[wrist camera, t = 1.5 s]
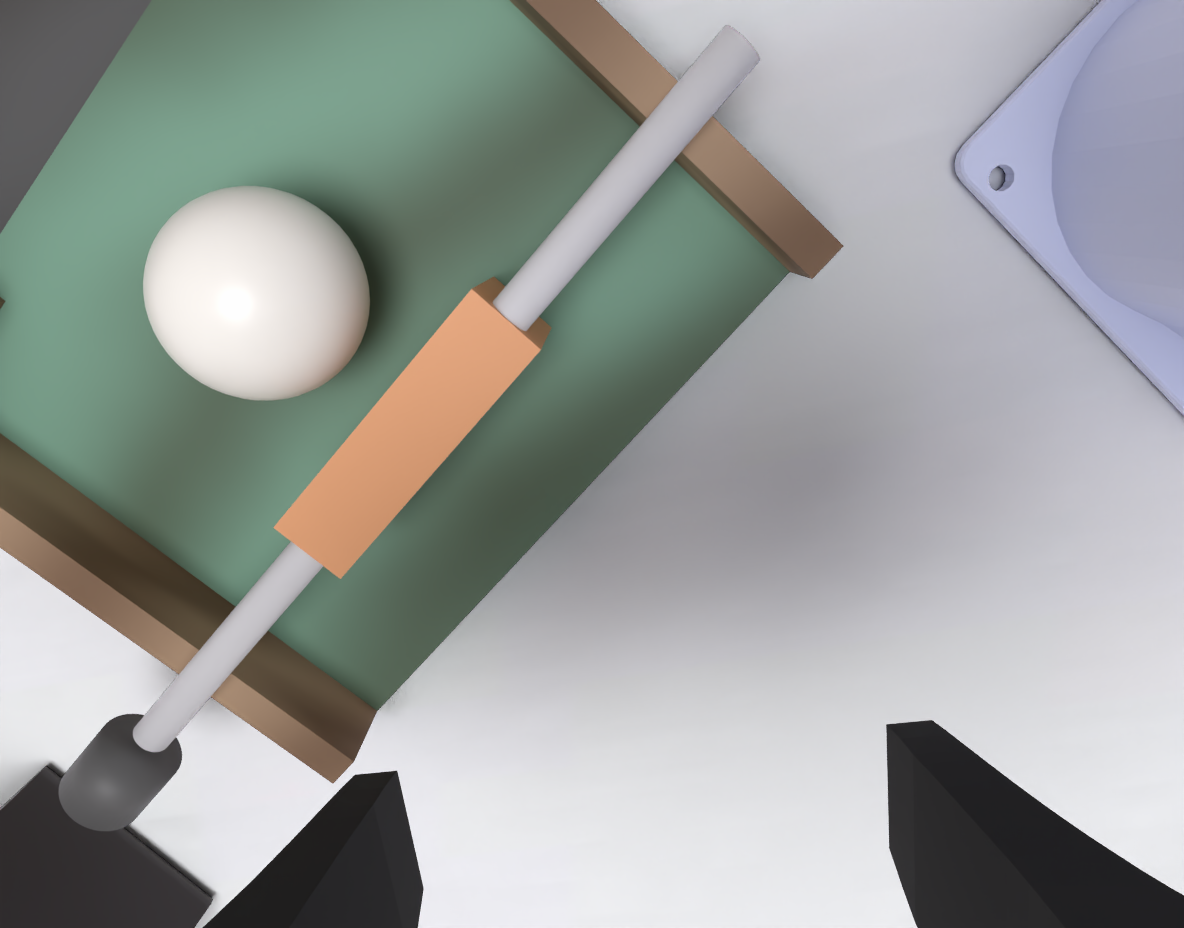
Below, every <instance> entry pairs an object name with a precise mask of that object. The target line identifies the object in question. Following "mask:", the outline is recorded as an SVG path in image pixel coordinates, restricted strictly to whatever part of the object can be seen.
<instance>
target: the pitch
mask: <svg viewBox="0 0 1184 928" xmlns="http://www.w3.org/2000/svg"><path fill="white" fill-rule="evenodd" d="M677 82H678V81H677V80H676V79H675V78H674V77H673V76H672V75H671V74H670V73H669V72H668V71H667V70H666V69H665V68H664V67H663V66H662V65H661V64H660V63H659V62H658V61H657V60H656V59H654V58H653V57H652V56H651V55H650V54H649V53H648V52H647V51H646V50H645V49H644V48H643V47H642V46H641V45H640V44H639V43H638V42H637V41H636V40H635V39H634V38H633V37H632V36H631V35H630V34H629V33H628V32H627V31H626V30H625V29H624V28H623V27H622V26H621V25H620V24H619V23H618V22H617V21H616V20H615V19H614V18H613V17H612V16H611V15H610V14H609V13H608V12H607V11H606V10H605V9H604V8H603V7H602V6H601V5H600V4H599V3H598V2H597V1H596V0H0V548H1V549H3V550H4V551H6V552H7V553H9V554H10V555H11V556H13V557H14V558H16V559H17V560H18V561H20V562H21V563H23V564H24V565H25V566H27V567H28V568H30V569H31V570H32V571H34V572H35V573H37V574H38V575H40V576H41V577H42V578H44V579H45V580H47V581H48V582H49V583H51V584H52V585H54V586H55V587H56V588H58V589H59V590H61V591H62V592H64V593H65V594H66V595H68V596H69V597H71V598H72V599H73V600H75V601H76V602H78V603H79V604H80V605H82V606H83V607H85V608H86V609H87V610H89V611H90V612H92V613H93V614H95V615H96V616H97V617H99V618H100V619H102V620H103V621H104V622H106V623H107V624H109V625H110V626H111V627H113V628H114V629H116V630H117V631H119V632H120V633H121V634H123V635H124V636H126V637H127V638H128V639H130V640H131V641H133V642H134V643H135V644H137V645H138V646H140V647H141V648H142V649H144V650H145V651H147V652H148V653H150V654H151V655H152V656H154V657H155V658H157V659H158V660H159V661H161V662H162V663H164V664H165V665H166V666H168V667H169V668H171V669H172V670H173V671H175V672H176V673H178V674H180V673H181V671H182V670H183V669H184V668H185V667H186V665H187V664H188V663H189V662H190V661H191V659H192V658H193V657H194V656H195V655H196V654H197V652H198V651H199V650H200V649H201V648H202V646H203V645H204V644H205V643H206V642H207V640H208V639H209V638H210V637H211V636H212V634H213V633H214V632H215V631H216V630H217V629H218V627H219V626H220V625H221V624H222V623H223V621H224V620H225V619H226V618H227V617H228V615H229V614H230V613H231V612H232V611H233V610H234V608H235V607H236V606H237V605H238V604H239V602H240V601H241V600H242V599H243V598H244V596H245V595H246V594H247V593H248V592H249V591H250V589H251V588H252V587H253V586H254V585H255V583H256V582H257V581H258V580H259V579H260V577H261V576H262V575H263V574H264V573H265V572H266V570H267V569H268V568H269V567H270V566H271V564H272V563H273V562H274V561H275V560H276V558H277V557H278V556H279V555H280V554H281V553H282V551H283V550H284V549H285V548H286V547H287V545H288V544H289V543H290V542H291V541H290V540H289V539H287V538H286V537H285V536H283V535H282V534H281V533H280V532H278V531H277V530H276V529H274V528H273V527H274V526H275V525H276V524H277V523H278V521H279V520H280V519H281V518H282V517H283V515H284V514H285V513H286V512H287V510H288V509H289V508H290V507H291V506H292V504H293V503H294V502H295V501H296V500H297V498H298V497H299V496H300V495H301V494H302V492H303V491H304V490H305V489H306V488H307V486H308V485H309V484H310V483H311V482H312V480H313V479H314V478H315V477H316V476H317V474H318V473H319V472H320V471H321V470H322V468H323V467H324V466H325V465H326V464H327V462H328V461H329V460H330V459H331V457H332V456H333V455H334V454H335V453H336V451H337V450H338V449H339V448H340V447H341V445H342V444H343V443H344V442H345V441H346V439H347V438H348V437H349V436H350V435H351V433H352V432H353V431H354V430H355V429H356V427H357V426H358V425H359V424H360V423H361V421H362V420H363V419H364V418H365V417H366V415H367V414H368V413H369V412H370V411H371V409H372V408H373V407H374V406H375V404H376V403H377V402H378V401H379V400H380V398H381V397H382V396H383V395H384V394H385V392H386V391H387V390H388V389H389V388H390V386H391V385H392V384H393V383H394V382H395V380H396V379H397V378H398V377H399V376H400V374H401V373H402V372H403V371H404V370H405V368H406V367H407V366H408V365H409V364H410V362H411V361H412V360H413V359H414V358H415V356H416V355H417V354H418V353H419V352H420V350H421V349H422V348H423V347H424V345H425V344H426V343H427V342H428V341H429V339H430V338H431V337H432V336H433V335H434V333H435V332H436V331H437V330H438V329H439V327H440V326H441V325H442V324H443V323H444V321H445V320H446V319H447V318H448V317H449V315H450V314H451V313H452V312H453V311H454V309H455V308H456V307H457V306H458V305H459V303H460V302H461V301H462V300H463V299H464V297H465V296H466V295H467V294H468V292H469V291H470V290H471V289H472V288H474V287H476V286H478V285H479V284H481V283H483V282H485V281H487V280H488V279H490V278H492V277H495V278H496V279H497V280H498V281H500V282H501V283H502V284H503V285H504V286H506V285H507V284H508V283H509V282H510V281H511V279H512V278H513V277H514V276H515V275H516V273H517V272H518V271H519V270H520V269H521V267H522V266H523V265H524V264H525V263H526V261H527V260H528V259H529V258H530V257H531V256H532V254H533V253H534V252H535V251H536V250H537V248H538V247H539V246H540V245H541V244H542V242H543V241H544V240H545V239H546V238H547V237H548V235H549V234H550V233H551V232H552V231H553V229H554V228H555V227H556V226H557V225H558V223H559V222H560V221H561V220H562V219H563V218H564V216H565V215H566V214H567V213H568V212H569V210H570V209H571V208H572V207H573V206H574V204H575V203H576V202H577V201H578V200H579V199H580V197H581V196H582V195H583V194H584V193H585V191H586V190H587V189H588V188H589V187H590V185H591V184H592V183H593V182H594V181H595V180H596V178H597V177H598V176H599V175H600V174H601V172H602V171H603V170H604V169H605V168H606V166H607V165H608V164H609V163H610V162H611V161H612V159H613V158H614V157H615V156H616V155H617V153H618V152H619V151H620V150H621V149H622V147H623V146H624V145H625V144H626V143H627V142H628V140H629V139H630V138H631V137H632V136H633V134H634V133H635V132H636V131H637V130H638V128H639V127H640V126H641V125H642V124H643V123H644V121H645V120H646V119H647V118H648V117H649V115H650V114H651V113H652V112H653V111H654V109H655V108H656V107H657V106H658V105H659V104H660V102H661V101H662V100H663V99H664V98H665V96H666V95H667V94H668V93H669V92H670V90H671V89H672V88H673V87H674V86H675V85H676V83H677ZM237 186H261V187H268V188H273V189H277V190H281V191H284V192H288V193H291V194H293V195H296V196H298V197H300V198H303V199H305V200H306V201H308V202H310V203H311V204H313V205H315V206H316V207H318V208H319V209H320V210H322V211H323V212H324V213H326V214H327V215H328V216H330V217H331V218H332V219H333V220H334V221H335V222H336V223H337V224H338V225H339V226H340V227H341V228H342V230H343V231H344V232H345V233H346V234H347V236H348V237H349V238H350V240H351V242H352V243H353V245H354V246H355V248H356V250H357V252H358V254H359V256H360V258H361V260H362V262H363V265H364V268H365V272H366V275H367V279H368V285H369V293H370V310H369V318H368V323H367V327H366V330H365V333H364V336H363V339H362V341H361V343H360V345H359V347H358V349H357V351H356V353H355V354H354V355H353V357H352V358H351V360H350V361H349V363H348V364H347V365H346V366H345V367H344V368H343V369H342V370H341V371H340V372H339V373H338V374H337V375H335V376H334V377H333V378H332V379H330V380H329V381H328V382H327V383H325V384H323V385H321V386H320V387H318V388H316V389H314V390H312V391H309V392H307V393H304V394H302V395H299V396H295V397H292V398H288V399H280V400H269V401H266V400H249V399H242V398H238V397H234V396H231V395H227V394H224V393H221V392H219V391H216V390H214V389H212V388H210V387H208V386H206V385H204V384H202V383H200V382H199V381H198V380H196V379H195V378H193V377H192V376H190V375H189V374H188V373H187V372H185V371H184V370H183V369H182V368H181V367H180V366H179V365H178V364H176V362H175V361H174V360H173V359H172V358H171V357H170V356H169V355H168V353H167V352H166V351H165V349H164V348H163V346H162V345H161V344H160V342H159V340H158V338H157V337H156V335H155V333H154V331H153V329H152V326H151V324H150V321H149V319H148V315H147V312H146V308H145V302H144V295H143V277H144V269H145V264H146V260H147V256H148V253H149V250H150V248H151V245H152V243H153V241H154V239H155V237H156V236H157V234H158V232H159V231H160V229H161V228H162V227H163V226H164V224H165V223H166V222H167V221H168V220H169V218H170V217H171V216H172V215H173V214H175V213H176V212H177V211H178V210H179V209H180V208H181V207H183V206H184V205H186V204H187V203H189V202H190V201H192V200H194V199H196V198H198V197H200V196H203V195H205V194H207V193H209V192H212V191H216V190H219V189H223V188H229V187H237ZM842 247H843V245H842V244H841V243H840V242H839V241H838V240H837V239H836V238H835V237H834V236H833V235H832V234H831V233H830V232H829V231H828V230H827V229H826V228H825V227H824V226H823V225H822V224H821V223H820V222H819V221H818V220H817V219H816V218H815V217H814V216H813V215H812V214H811V213H810V212H809V211H808V210H807V209H806V208H805V207H804V206H803V205H802V204H801V203H800V202H799V201H798V200H797V199H796V198H795V197H794V196H793V195H792V194H791V193H790V192H789V191H788V190H787V189H786V188H785V187H784V186H783V185H782V184H781V183H779V182H778V181H777V180H776V179H775V178H774V177H773V176H772V175H771V174H770V173H769V172H768V171H767V170H766V169H765V168H764V167H763V166H762V165H761V164H760V163H759V162H758V161H757V160H756V159H755V158H754V157H753V156H752V155H751V154H750V153H749V152H748V151H747V150H746V149H745V148H744V147H743V146H742V145H741V144H740V143H739V142H738V141H737V140H736V139H735V138H734V137H733V136H732V135H731V134H730V133H729V132H728V131H727V130H726V129H725V128H724V127H723V126H722V125H721V124H720V123H719V122H718V121H717V120H716V119H715V118H714V117H713V116H712V117H711V118H710V119H709V120H708V121H707V122H706V124H705V125H704V126H703V127H702V128H701V129H700V131H699V132H698V133H697V134H696V135H695V136H694V137H693V139H692V140H691V141H690V142H689V143H688V144H687V146H686V147H685V148H684V149H683V150H682V151H681V153H680V154H679V155H678V156H677V157H676V158H675V159H674V161H673V162H672V163H671V164H670V165H669V166H668V168H667V169H666V170H665V171H664V172H663V173H662V175H661V176H660V177H659V178H658V179H657V180H656V182H655V183H654V184H653V185H652V186H651V187H650V188H649V190H648V191H647V192H646V193H645V194H644V195H643V197H642V198H641V199H640V200H639V201H638V202H637V204H636V205H635V206H634V207H633V208H632V209H631V210H630V212H629V213H628V214H627V215H626V216H625V217H624V219H623V220H622V221H621V222H620V223H619V224H618V226H617V227H616V228H615V229H614V230H613V231H612V232H611V234H610V235H609V236H608V237H607V238H606V239H605V241H604V242H603V243H602V244H601V245H600V246H599V248H598V249H597V250H596V251H595V252H594V253H593V254H592V256H591V257H590V258H589V259H588V260H587V261H586V263H585V264H584V265H583V266H582V267H581V268H580V270H579V271H578V272H577V273H576V274H575V275H574V276H573V278H572V279H571V280H570V281H569V282H568V283H567V285H566V286H565V287H564V288H563V289H562V290H561V292H560V293H559V294H558V295H557V296H556V297H555V299H554V300H553V301H552V302H551V303H550V304H549V305H548V307H547V308H546V309H545V310H544V311H543V312H542V314H541V315H540V316H539V317H540V318H541V319H543V320H544V321H545V322H546V323H547V324H548V325H549V326H550V327H552V328H551V330H550V332H549V334H548V336H547V338H546V340H545V343H544V345H543V347H542V349H541V350H540V351H539V353H538V354H537V355H536V356H535V357H534V358H533V359H532V361H531V362H530V363H529V364H528V365H527V366H526V368H525V369H524V370H523V371H522V372H521V373H520V374H519V376H518V377H517V378H516V379H515V380H514V381H513V382H512V384H511V385H510V386H509V387H508V388H507V389H506V390H505V392H504V393H503V394H502V395H501V396H500V397H499V398H498V400H497V401H496V402H495V403H494V404H493V405H492V406H491V408H490V409H489V410H488V411H487V412H486V413H485V414H484V416H483V417H482V418H481V419H480V420H479V421H478V422H477V424H476V425H475V426H474V427H473V428H472V429H471V430H470V432H469V433H468V434H467V435H466V436H465V437H464V438H463V440H462V441H461V442H460V443H459V444H458V445H457V446H456V448H455V449H454V450H453V451H452V452H451V453H450V454H449V456H448V457H447V458H446V459H445V460H444V461H443V462H442V464H441V465H440V466H439V467H438V468H437V469H436V470H435V472H434V473H433V474H432V475H431V476H430V477H429V478H428V480H427V481H426V482H425V483H424V484H423V485H422V486H421V488H420V489H419V490H418V491H417V492H416V493H415V494H414V496H413V497H412V498H411V499H410V500H409V501H408V502H407V504H406V505H405V506H404V507H403V508H402V509H401V510H400V512H399V513H398V514H397V515H396V516H395V517H394V518H393V520H392V521H391V522H390V523H389V524H388V525H387V526H386V528H385V529H384V530H383V531H382V532H381V533H380V534H379V536H378V537H377V538H376V539H375V540H374V541H373V542H372V544H371V545H370V546H369V547H368V548H367V549H366V550H365V552H364V553H363V554H362V555H361V556H360V557H359V558H358V560H357V561H356V562H355V563H354V564H353V565H352V566H351V568H350V569H349V570H348V571H347V572H346V573H345V574H344V576H343V577H342V578H341V579H340V578H338V577H337V576H336V575H334V574H333V573H332V572H330V571H329V570H328V569H327V568H325V567H324V566H323V567H322V568H321V570H320V571H319V572H318V573H317V574H316V575H315V577H314V578H313V579H312V580H311V581H310V582H309V583H308V585H307V586H306V587H305V588H304V589H303V590H302V592H301V593H300V594H299V595H298V596H297V597H296V599H295V600H294V601H293V602H292V603H291V604H290V605H289V607H288V608H287V609H286V610H285V611H284V612H283V614H282V615H281V616H280V617H279V618H278V619H277V621H276V622H275V623H274V624H273V625H272V626H271V628H270V629H269V630H268V631H267V632H266V633H265V634H264V636H263V637H262V638H261V639H260V640H259V641H258V643H257V644H256V645H255V646H254V647H253V648H252V650H251V651H250V652H249V653H248V654H247V655H246V656H245V658H244V659H243V660H242V661H241V662H240V663H239V665H238V666H237V667H236V668H235V669H234V670H233V672H232V673H231V674H230V675H229V676H228V677H227V678H226V680H225V681H224V682H223V683H222V684H221V685H220V687H219V688H218V689H217V690H216V691H215V692H214V694H213V695H212V696H211V697H212V698H213V699H214V700H216V701H217V702H219V703H220V704H221V705H223V706H224V707H226V708H227V709H228V710H230V711H231V712H233V713H234V714H236V715H237V716H238V717H240V718H241V719H243V720H244V721H245V722H247V723H248V724H250V725H251V726H252V727H254V728H255V729H257V730H258V731H260V732H261V733H262V734H264V735H265V736H267V737H268V738H269V739H271V740H272V741H274V742H275V743H276V744H278V745H279V746H281V747H282V748H283V749H285V750H286V751H288V752H289V753H291V754H292V755H293V756H295V757H296V758H298V759H299V760H300V761H302V762H303V763H305V764H306V765H307V766H309V767H310V768H312V769H313V770H314V771H316V772H317V773H319V774H320V775H322V776H323V777H324V778H326V779H327V780H329V781H330V782H331V783H334V782H335V781H336V780H337V779H338V778H339V777H340V776H341V775H342V774H343V773H344V771H345V770H346V769H347V768H348V767H349V766H350V765H351V764H352V763H353V762H354V760H355V758H356V756H357V754H358V752H359V749H360V747H361V745H362V743H363V741H364V739H365V736H366V734H367V732H368V730H369V728H370V726H371V723H372V721H373V719H374V717H375V715H376V713H377V711H378V710H379V709H380V708H381V706H382V705H383V704H384V703H385V702H386V701H387V700H388V699H389V698H390V697H391V696H392V695H393V694H394V693H395V692H396V691H397V689H398V688H399V687H400V686H401V685H402V684H403V683H404V682H405V681H406V680H407V679H408V678H409V677H410V676H411V675H412V673H413V672H414V671H415V670H416V669H417V668H418V667H419V666H420V665H421V664H422V663H423V662H424V661H425V660H426V659H427V658H428V656H429V655H430V654H431V653H432V652H433V651H434V650H435V649H436V648H437V647H438V646H439V645H440V644H441V643H442V642H443V640H444V639H445V638H446V637H447V636H448V635H449V634H450V633H451V632H452V631H453V630H454V629H455V628H456V627H457V626H458V625H459V623H460V622H461V621H462V620H463V619H464V618H465V617H466V616H467V615H468V614H469V613H470V612H471V611H472V610H473V609H474V607H475V606H476V605H477V604H478V603H479V602H480V601H481V600H482V599H483V598H484V597H485V596H486V595H487V594H488V593H489V591H490V590H491V589H492V588H493V587H494V586H495V585H496V584H497V583H498V582H499V581H500V580H501V579H502V578H503V577H504V576H505V574H506V573H507V572H508V571H509V570H510V569H511V568H512V567H513V566H514V565H515V564H516V563H517V562H518V561H519V560H520V558H521V557H522V556H523V555H524V554H525V553H526V552H527V551H528V550H529V549H530V548H531V547H532V546H533V545H534V544H535V543H536V541H537V540H538V539H539V538H540V537H541V536H542V535H543V534H544V533H545V532H546V531H547V530H548V529H549V528H550V527H551V525H552V524H553V523H554V522H555V521H556V520H557V519H558V518H559V517H560V516H561V515H562V514H563V513H564V512H565V511H566V510H567V508H568V507H569V506H570V505H571V504H572V503H573V502H574V501H575V500H576V499H577V498H578V497H579V496H580V495H581V494H582V492H583V491H584V490H585V489H586V488H587V487H588V486H589V485H590V484H591V483H592V482H593V481H594V480H595V479H596V478H597V477H598V475H599V474H600V473H601V472H602V471H603V470H604V469H605V468H606V467H607V466H608V465H609V464H610V463H611V462H612V461H613V459H614V458H615V457H616V456H617V455H618V454H619V453H620V452H621V451H622V450H623V449H624V448H625V447H626V446H627V445H628V444H629V442H630V441H631V440H632V439H633V438H634V437H635V436H636V435H637V434H638V433H639V432H640V431H641V430H642V429H643V428H644V426H645V425H646V424H647V423H648V422H649V421H650V420H651V419H652V418H653V417H654V416H655V415H656V414H657V413H658V412H659V411H660V409H661V408H662V407H663V406H664V405H665V404H666V403H667V402H668V401H669V400H670V399H671V398H672V397H673V396H674V395H675V393H676V392H677V391H678V390H679V389H680V388H681V387H682V386H683V385H684V384H685V383H686V382H687V381H688V380H689V379H690V377H691V376H692V375H693V374H694V373H695V372H696V371H697V370H698V369H699V368H700V367H701V366H702V365H703V364H704V363H705V362H706V360H707V359H708V358H709V357H710V356H711V355H712V354H713V353H714V352H715V351H716V350H717V349H718V348H719V347H720V346H721V344H722V343H723V342H724V341H725V340H726V339H727V338H728V337H729V336H730V335H731V334H732V333H733V332H734V331H735V330H736V329H737V327H738V326H739V325H740V324H741V323H742V322H743V321H744V320H745V319H746V318H747V317H748V316H749V315H750V314H751V313H752V311H753V310H754V309H755V308H756V307H757V306H758V305H759V304H760V303H761V302H762V301H763V300H764V299H765V298H766V297H767V296H768V294H769V293H770V292H771V291H772V290H773V289H774V288H775V287H776V286H777V285H778V284H779V283H780V282H781V281H782V280H783V278H784V277H785V276H786V275H787V274H788V273H789V272H792V273H795V274H799V275H802V276H805V277H808V278H811V279H813V278H814V277H815V276H816V275H817V273H818V272H819V271H820V270H821V269H822V268H823V267H824V266H825V265H826V264H827V263H828V262H829V261H830V260H831V259H832V258H833V257H834V256H835V255H836V253H837V252H838V251H839V250H840V249H841V248H842Z"/></svg>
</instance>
